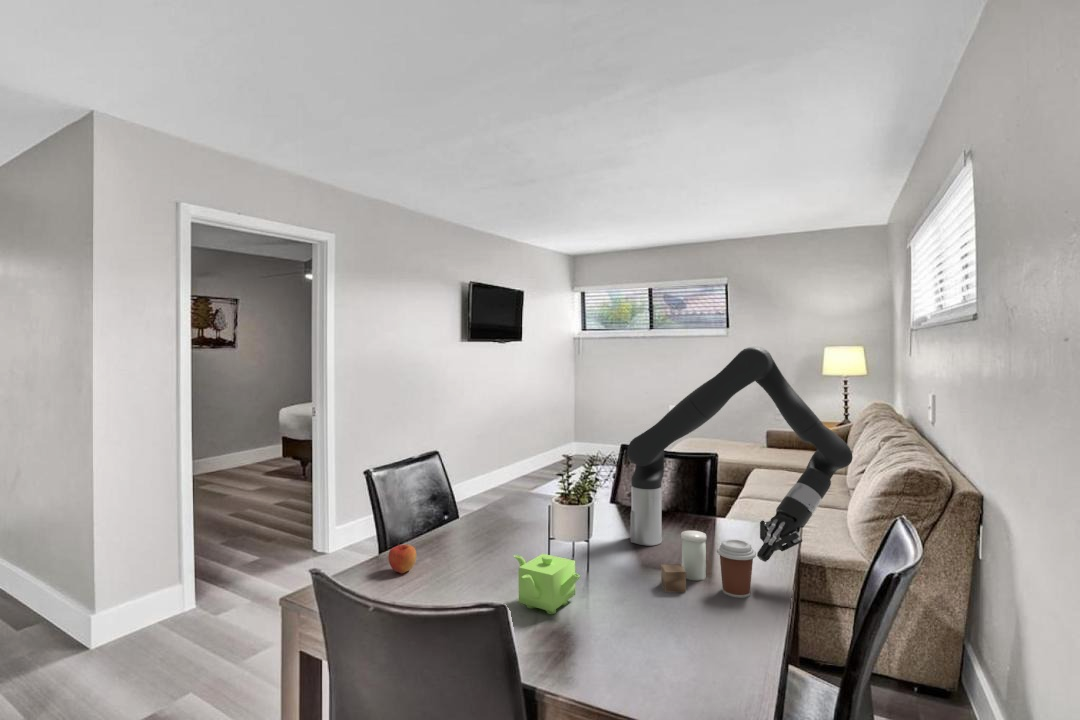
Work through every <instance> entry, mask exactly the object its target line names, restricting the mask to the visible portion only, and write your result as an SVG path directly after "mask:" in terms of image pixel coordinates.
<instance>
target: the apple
mask: <svg viewBox="0 0 1080 720" xmlns="http://www.w3.org/2000/svg"><path fill="white" fill-rule="evenodd" d="M416 560H417V550H416V548H415V547H414V546H412V545H411V544H400V543H398V544H397V546H394V547H392V548H390V549H389V551H388V563H389V565H390V567H391V569H392V570H393V571H395V572H396V573H399V574H400V575H401V574H405V573H407V572H408V571H411V570H412V568H413V567H414V565H415V564H416Z"/></svg>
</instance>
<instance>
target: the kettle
mask: <svg viewBox="0 0 1080 720" xmlns="http://www.w3.org/2000/svg"><path fill="white" fill-rule="evenodd" d="M513 557H514V558H515V559H516V560H517V562H518V563H519V567H518V604H521V605H526V608H527V609H535V608H537V609H540V610H544V611H546V614H548V615H555V614H556V613H557V609H558V608H560V607H561V606H566V605H568V604H569V601H570V599H572V598H573V597H575V595H576V583H577V581H578V580H579V578H580V577H581V575H580V574H578V573H576V561H575V560H572V559H568V558H565V557H559V556H555V555H550V554H545V553H541V554H540V555H538V556H536V557H534V558H533V559H531V560H529V561H528V562H526V560H525V558H523V556H521V555H519V554H514V555H513Z"/></svg>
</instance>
